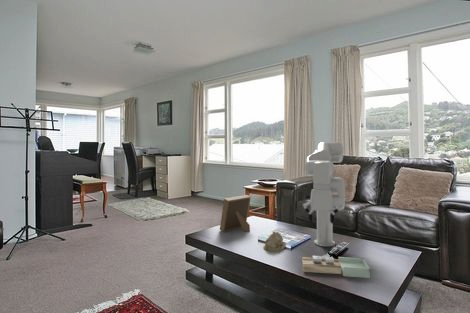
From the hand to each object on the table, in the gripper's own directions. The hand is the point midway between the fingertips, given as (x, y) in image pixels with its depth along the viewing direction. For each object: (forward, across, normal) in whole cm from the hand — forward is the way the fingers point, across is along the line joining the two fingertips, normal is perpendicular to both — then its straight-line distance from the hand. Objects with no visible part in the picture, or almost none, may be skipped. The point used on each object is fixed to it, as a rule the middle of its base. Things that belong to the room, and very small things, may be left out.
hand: (321, 222), depth 135 cm
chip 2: (+22, -5, -5) cm, 23 cm away
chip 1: (+22, +1, -5) cm, 23 cm away
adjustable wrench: (+26, -9, -24) cm, 36 cm away
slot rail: (+25, -1, -5) cm, 26 cm away
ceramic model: (+25, +23, -32) cm, 46 cm away
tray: (+25, -16, -4) cm, 30 cm away
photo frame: (+25, +50, -63) cm, 84 cm away
